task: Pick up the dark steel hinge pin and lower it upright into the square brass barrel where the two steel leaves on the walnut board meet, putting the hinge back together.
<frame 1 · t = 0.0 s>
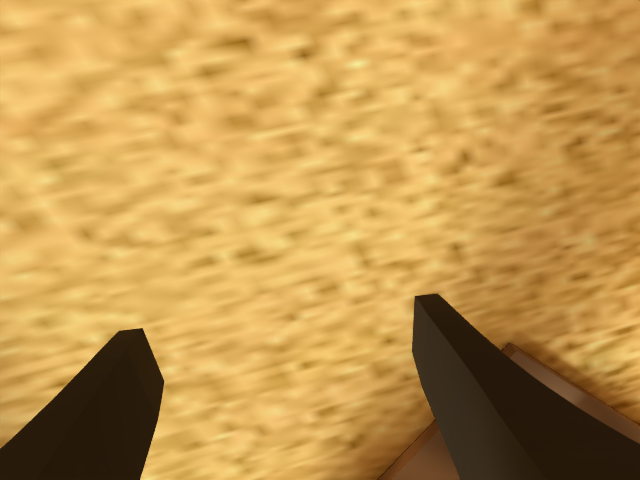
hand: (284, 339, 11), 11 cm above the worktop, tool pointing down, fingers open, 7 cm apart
hinge block: (550, 467, 29), on the worktop
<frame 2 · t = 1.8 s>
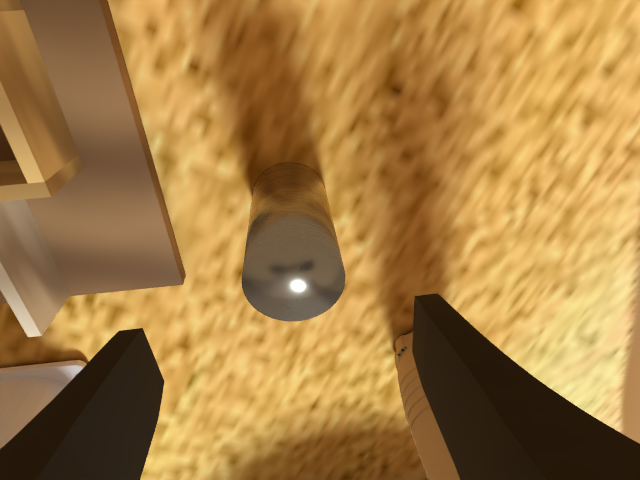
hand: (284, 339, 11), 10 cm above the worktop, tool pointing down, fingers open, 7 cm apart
handle: (415, 341, 26), on the worktop
hinge pin: (289, 197, 20), on the worktop
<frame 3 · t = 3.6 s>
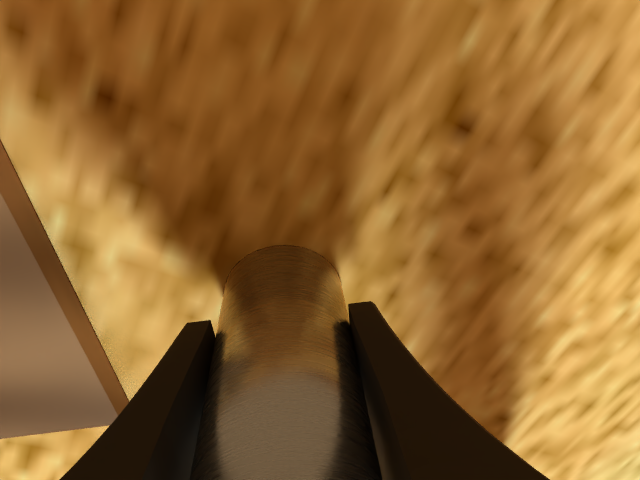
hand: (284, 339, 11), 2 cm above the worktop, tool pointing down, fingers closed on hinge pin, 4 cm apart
hinge pin: (283, 295, 13), on the worktop, touching gripper
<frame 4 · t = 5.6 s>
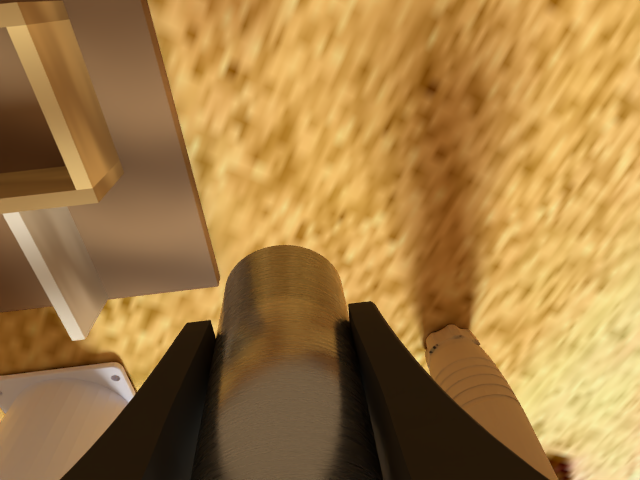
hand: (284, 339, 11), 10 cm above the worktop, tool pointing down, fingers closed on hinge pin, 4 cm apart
hinge block: (23, 100, 17), on the worktop
handle: (445, 338, 27), on the worktop
hinge pin: (284, 294, 13), point 8 cm above the worktop, touching gripper
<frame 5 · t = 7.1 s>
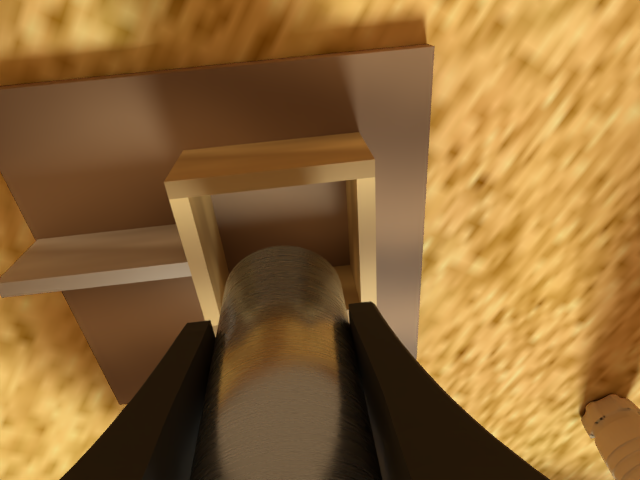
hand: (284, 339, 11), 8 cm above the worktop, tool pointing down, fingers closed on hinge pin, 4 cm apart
hinge block: (282, 210, 18), on the worktop
handle: (600, 405, 27), on the worktop
hinge pin: (283, 295, 13), point 6 cm above the worktop, touching gripper
when the fingers open (5 cm above the worktop, at t = 8.1 s): hinge pin drops 2 cm, resting on hinge block.
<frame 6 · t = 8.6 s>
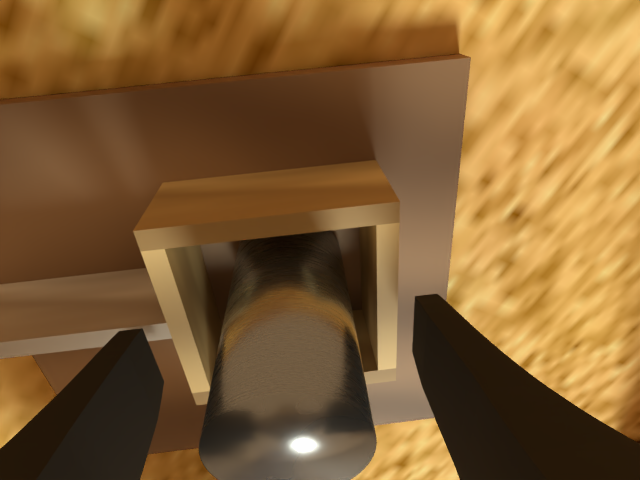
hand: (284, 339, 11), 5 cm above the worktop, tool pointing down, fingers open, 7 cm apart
hinge block: (283, 247, 15), on the worktop
hinge pin: (289, 258, 14), point 1 cm above the worktop, touching hinge block
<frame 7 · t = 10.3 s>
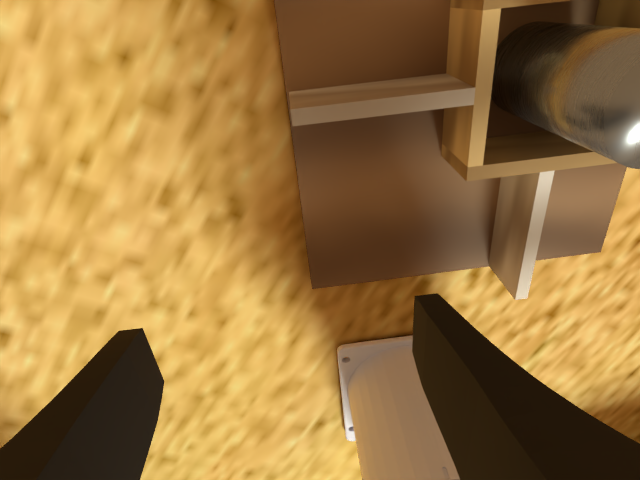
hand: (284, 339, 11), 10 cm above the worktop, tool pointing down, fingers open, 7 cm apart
hinge block: (513, 68, 18), on the worktop
hinge pin: (528, 69, 17), point 1 cm above the worktop, touching hinge block
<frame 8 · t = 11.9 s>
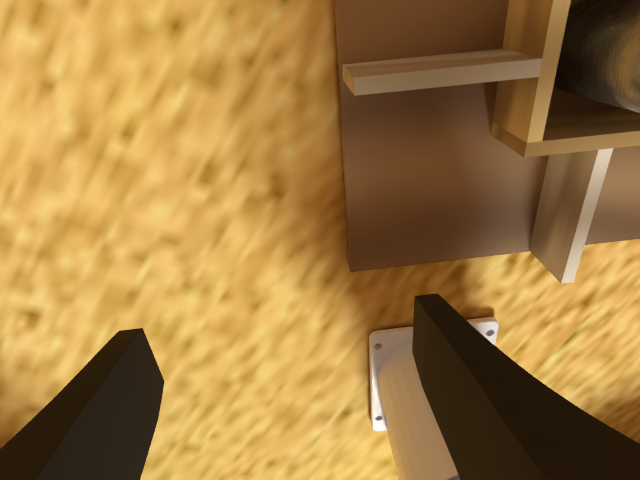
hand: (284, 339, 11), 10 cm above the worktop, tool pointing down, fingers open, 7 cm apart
hinge block: (567, 46, 18), on the worktop
hinge pin: (585, 46, 17), point 1 cm above the worktop, touching hinge block
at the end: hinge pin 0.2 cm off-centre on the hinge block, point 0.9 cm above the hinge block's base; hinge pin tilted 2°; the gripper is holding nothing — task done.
